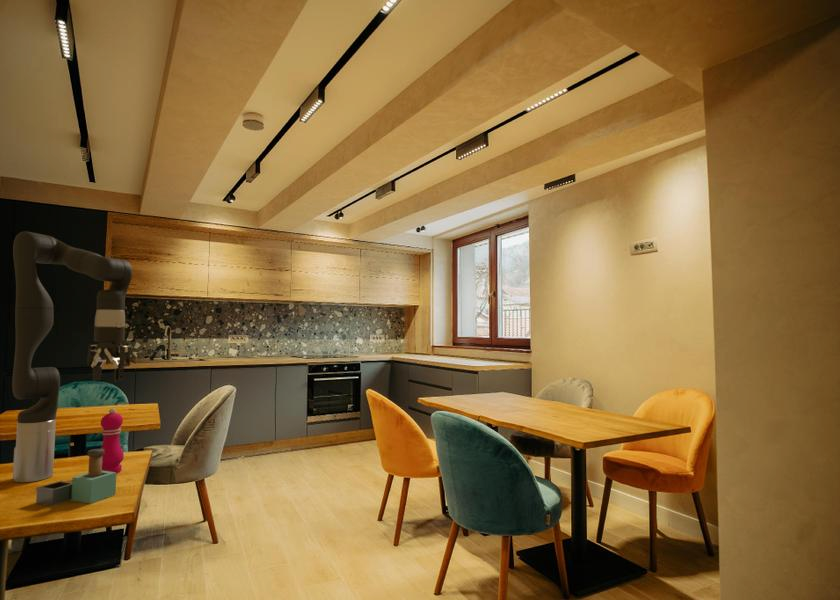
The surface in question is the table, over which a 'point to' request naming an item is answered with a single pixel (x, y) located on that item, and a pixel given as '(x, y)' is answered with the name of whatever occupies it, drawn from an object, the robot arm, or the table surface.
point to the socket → (93, 487)
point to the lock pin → (95, 462)
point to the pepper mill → (112, 442)
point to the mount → (54, 493)
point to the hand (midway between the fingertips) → (107, 380)
